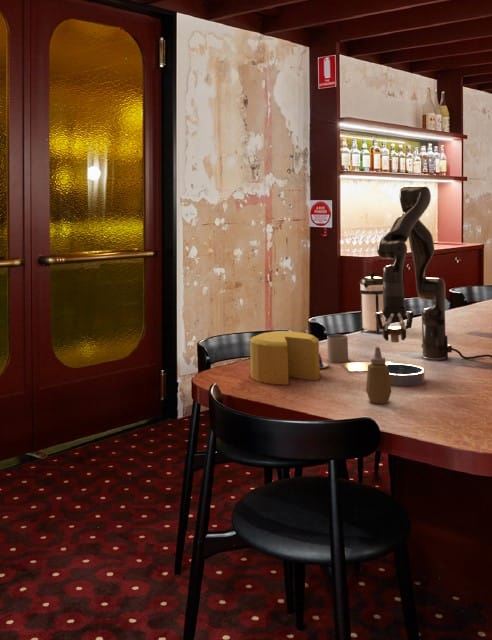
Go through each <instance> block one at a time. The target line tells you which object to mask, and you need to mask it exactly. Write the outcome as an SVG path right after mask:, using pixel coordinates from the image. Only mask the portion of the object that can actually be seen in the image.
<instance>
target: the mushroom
mask: <svg viewBox="0 0 492 640" xmlns="http://www.w3.org/2000/svg"><path fill="white" fill-rule="evenodd" d="M401 334H402V327H401V326H391V325H390V326H389V327H388V336H390V342H391V343H394V344H395V343H396V344H397V343H399V342H400V336H401Z"/></svg>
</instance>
